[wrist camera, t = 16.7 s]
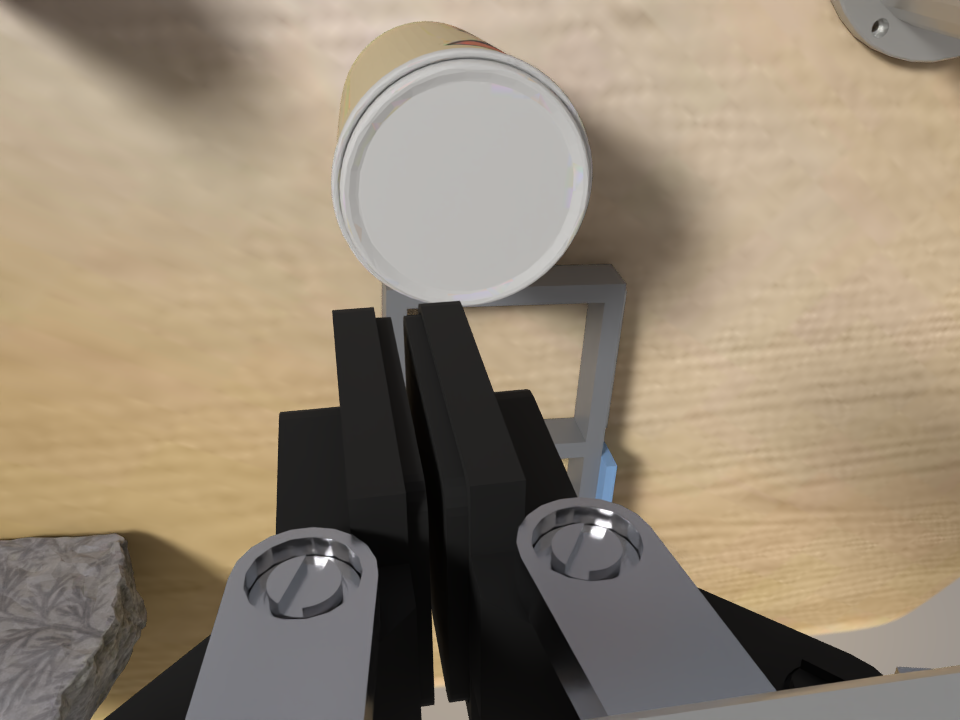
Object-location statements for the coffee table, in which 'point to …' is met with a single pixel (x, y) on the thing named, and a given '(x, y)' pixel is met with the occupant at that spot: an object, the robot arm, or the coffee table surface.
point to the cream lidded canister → (456, 166)
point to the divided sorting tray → (601, 341)
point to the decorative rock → (65, 624)
